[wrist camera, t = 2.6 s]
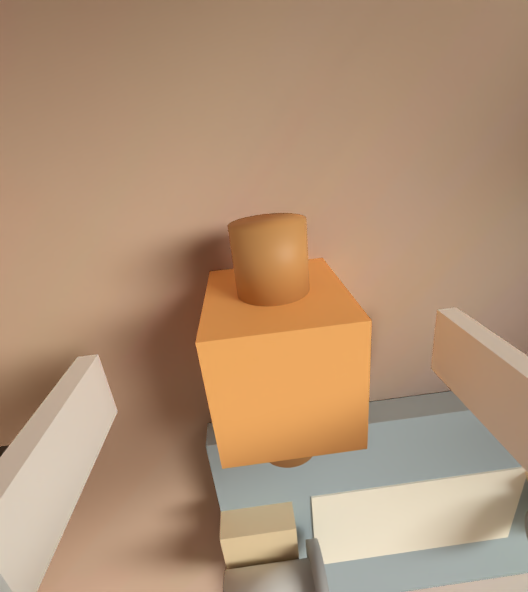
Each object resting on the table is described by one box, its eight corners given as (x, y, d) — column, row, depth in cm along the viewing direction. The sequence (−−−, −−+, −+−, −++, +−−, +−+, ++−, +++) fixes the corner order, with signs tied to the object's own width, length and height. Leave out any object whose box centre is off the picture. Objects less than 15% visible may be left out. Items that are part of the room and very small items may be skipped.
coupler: (233, 403, 18) (232, 516, 13) (200, 213, 14) (177, 256, 8) (326, 391, 18) (365, 497, 13) (320, 200, 14) (374, 233, 9)
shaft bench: (207, 423, 18) (193, 565, 12) (622, 368, 19) (811, 475, 13) (244, 589, 25) (247, 738, 19) (552, 544, 25) (654, 672, 19)
